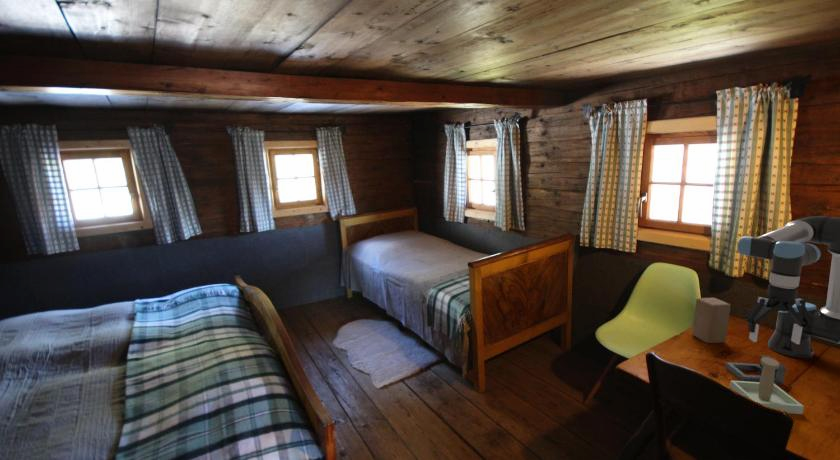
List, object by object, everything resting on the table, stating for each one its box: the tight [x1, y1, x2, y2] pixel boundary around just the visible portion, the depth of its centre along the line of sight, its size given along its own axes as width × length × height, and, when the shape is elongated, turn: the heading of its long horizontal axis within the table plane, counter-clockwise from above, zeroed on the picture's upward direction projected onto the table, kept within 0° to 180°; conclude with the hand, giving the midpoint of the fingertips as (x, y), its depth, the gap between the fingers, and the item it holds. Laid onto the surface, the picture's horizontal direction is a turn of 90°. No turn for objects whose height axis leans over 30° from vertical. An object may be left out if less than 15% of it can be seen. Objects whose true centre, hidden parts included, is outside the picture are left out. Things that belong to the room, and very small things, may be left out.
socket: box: [725, 355, 787, 385], centre depth 156 cm, size 15×11×7 cm
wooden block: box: [691, 297, 732, 344], centre depth 186 cm, size 10×10×20 cm
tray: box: [729, 380, 805, 415], centre depth 141 cm, size 15×14×3 cm
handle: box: [758, 357, 780, 401], centre depth 139 cm, size 5×6×15 cm
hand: (773, 341), depth 137 cm, fingers open, 13 cm apart
